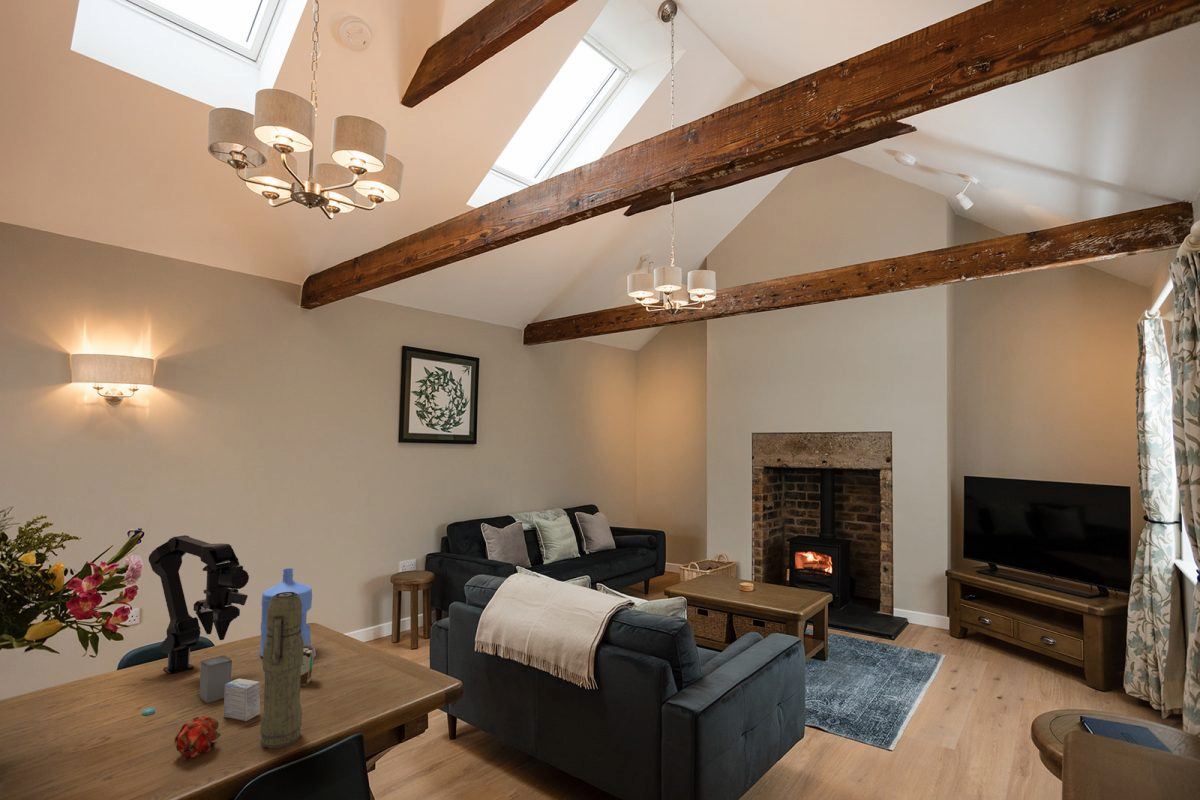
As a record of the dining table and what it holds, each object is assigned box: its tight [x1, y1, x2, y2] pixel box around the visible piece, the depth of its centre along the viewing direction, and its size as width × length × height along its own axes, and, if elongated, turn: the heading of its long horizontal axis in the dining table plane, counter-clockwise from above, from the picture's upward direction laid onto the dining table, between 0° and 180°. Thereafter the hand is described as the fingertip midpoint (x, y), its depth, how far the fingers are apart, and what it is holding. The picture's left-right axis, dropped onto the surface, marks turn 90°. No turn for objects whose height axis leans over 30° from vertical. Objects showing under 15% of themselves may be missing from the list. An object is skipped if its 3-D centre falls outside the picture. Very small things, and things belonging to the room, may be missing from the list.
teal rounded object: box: [141, 707, 156, 716], centre depth 163 cm, size 3×3×1 cm
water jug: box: [259, 568, 313, 658], centre depth 210 cm, size 16×16×28 cm
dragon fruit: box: [174, 714, 221, 761], centre depth 142 cm, size 8×8×12 cm
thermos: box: [259, 592, 304, 749], centre depth 150 cm, size 9×12×35 cm
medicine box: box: [223, 678, 261, 722], centre depth 162 cm, size 8×4×9 cm, turn 71°
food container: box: [300, 644, 317, 685], centre depth 185 cm, size 12×6×10 cm, turn 84°
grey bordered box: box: [198, 655, 233, 704], centre depth 174 cm, size 6×6×10 cm
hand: (215, 637), depth 188 cm, fingers open, 9 cm apart
